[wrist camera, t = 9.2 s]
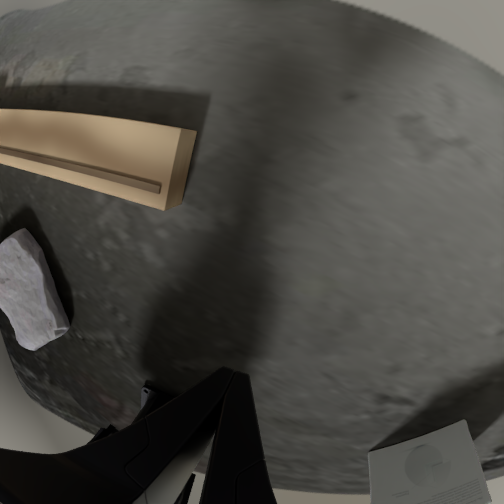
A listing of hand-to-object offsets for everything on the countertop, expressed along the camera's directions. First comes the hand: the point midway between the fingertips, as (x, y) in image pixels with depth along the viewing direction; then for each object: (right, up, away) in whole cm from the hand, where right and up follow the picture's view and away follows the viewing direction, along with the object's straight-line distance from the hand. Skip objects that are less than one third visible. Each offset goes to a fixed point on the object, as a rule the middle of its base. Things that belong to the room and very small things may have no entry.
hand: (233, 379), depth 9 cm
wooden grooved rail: (-16, +13, +12) cm, 24 cm away
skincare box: (+18, -17, +15) cm, 29 cm away
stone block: (-22, 0, +19) cm, 29 cm away
